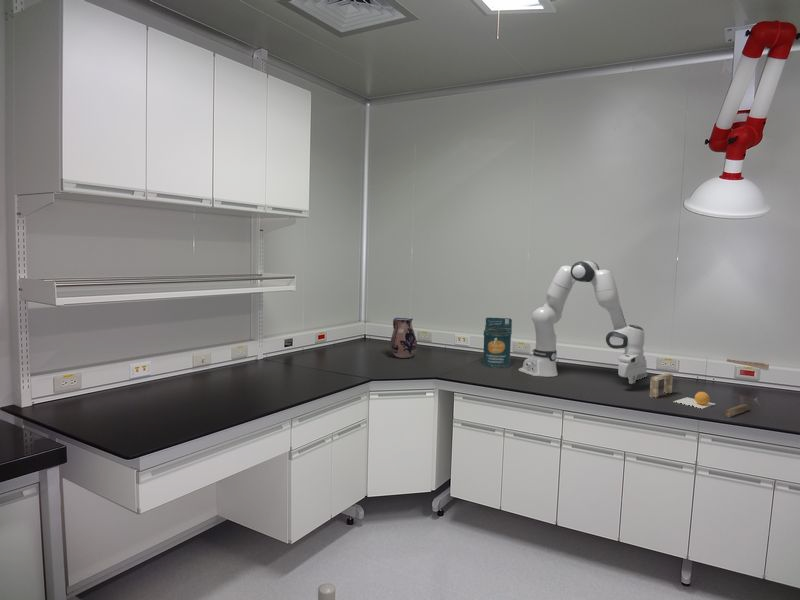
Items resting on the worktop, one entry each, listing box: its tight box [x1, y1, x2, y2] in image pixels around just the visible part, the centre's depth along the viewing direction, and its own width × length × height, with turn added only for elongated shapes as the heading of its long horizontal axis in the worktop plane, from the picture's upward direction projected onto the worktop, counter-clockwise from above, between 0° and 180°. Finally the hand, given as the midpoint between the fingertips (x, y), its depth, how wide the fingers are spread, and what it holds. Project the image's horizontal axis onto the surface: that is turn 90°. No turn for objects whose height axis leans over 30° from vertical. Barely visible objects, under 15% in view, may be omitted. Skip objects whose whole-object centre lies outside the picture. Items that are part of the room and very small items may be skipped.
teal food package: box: [482, 317, 513, 369], centre depth 321 cm, size 16×16×28 cm
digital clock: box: [625, 371, 648, 382], centre depth 292 cm, size 16×9×11 cm, turn 121°
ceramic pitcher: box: [389, 317, 418, 359], centre depth 343 cm, size 18×21×25 cm
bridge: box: [649, 372, 674, 399], centre depth 259 cm, size 3×15×10 cm, turn 125°
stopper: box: [723, 403, 749, 418], centre depth 232 cm, size 2×18×2 cm, turn 125°
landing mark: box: [672, 396, 716, 410], centre depth 246 cm, size 13×13×1 cm
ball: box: [694, 391, 710, 405], centre depth 244 cm, size 6×6×6 cm
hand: (631, 383), depth 271 cm, fingers closed
